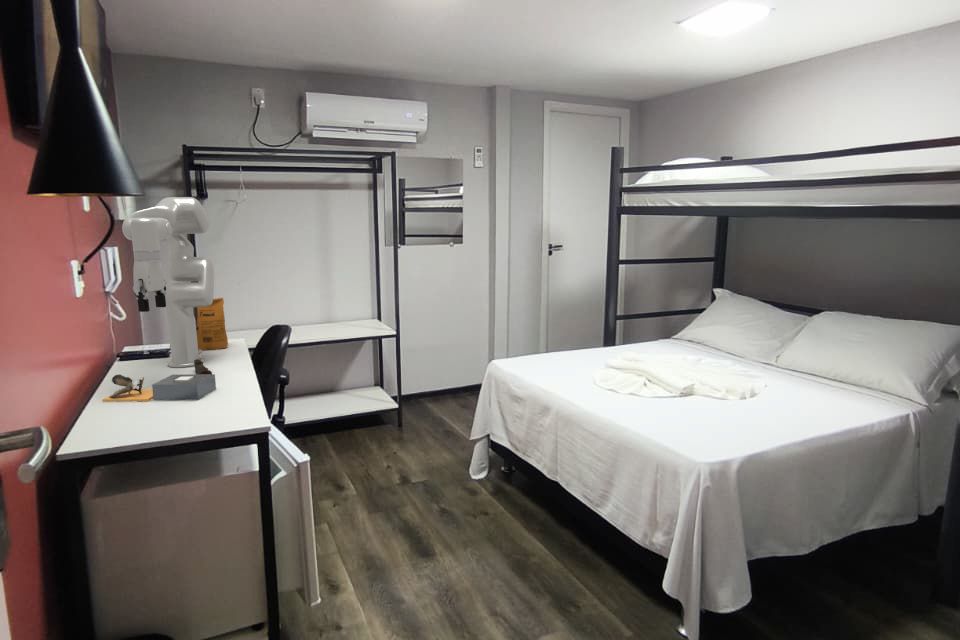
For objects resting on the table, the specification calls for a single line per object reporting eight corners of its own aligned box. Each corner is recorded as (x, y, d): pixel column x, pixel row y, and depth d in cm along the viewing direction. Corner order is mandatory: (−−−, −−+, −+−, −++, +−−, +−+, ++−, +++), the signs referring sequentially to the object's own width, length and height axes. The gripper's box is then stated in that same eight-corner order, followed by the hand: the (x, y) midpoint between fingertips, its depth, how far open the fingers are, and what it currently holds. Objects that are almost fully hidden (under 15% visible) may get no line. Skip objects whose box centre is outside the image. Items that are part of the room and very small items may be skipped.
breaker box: (174, 389, 194) (172, 374, 193) (216, 389, 193) (214, 374, 193) (153, 400, 182) (151, 384, 181) (198, 400, 182) (196, 384, 181)
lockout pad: (124, 391, 191) (124, 389, 191) (166, 391, 191) (166, 389, 191) (102, 401, 181) (102, 399, 181) (147, 401, 180) (147, 399, 180)
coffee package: (197, 347, 259) (193, 297, 256) (228, 344, 264) (224, 296, 260) (196, 351, 250) (191, 300, 247) (228, 349, 255) (224, 298, 251)
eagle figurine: (144, 385, 191) (111, 384, 187) (144, 370, 187) (111, 368, 183) (140, 403, 185) (106, 402, 182) (140, 388, 181) (106, 386, 178)
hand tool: (212, 380, 205) (211, 367, 204) (200, 382, 203) (199, 369, 202) (205, 369, 221) (204, 357, 220) (193, 370, 219) (192, 358, 218)
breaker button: (182, 388, 189) (181, 376, 189) (194, 388, 189) (193, 376, 189) (175, 392, 186) (174, 379, 185) (188, 392, 185) (187, 379, 185)
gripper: (151, 255, 198) (156, 305, 201) (119, 258, 181) (125, 313, 184) (173, 255, 198) (178, 305, 201) (143, 258, 181) (149, 313, 184)
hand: (152, 309), depth 192 cm, fingers open, 9 cm apart
